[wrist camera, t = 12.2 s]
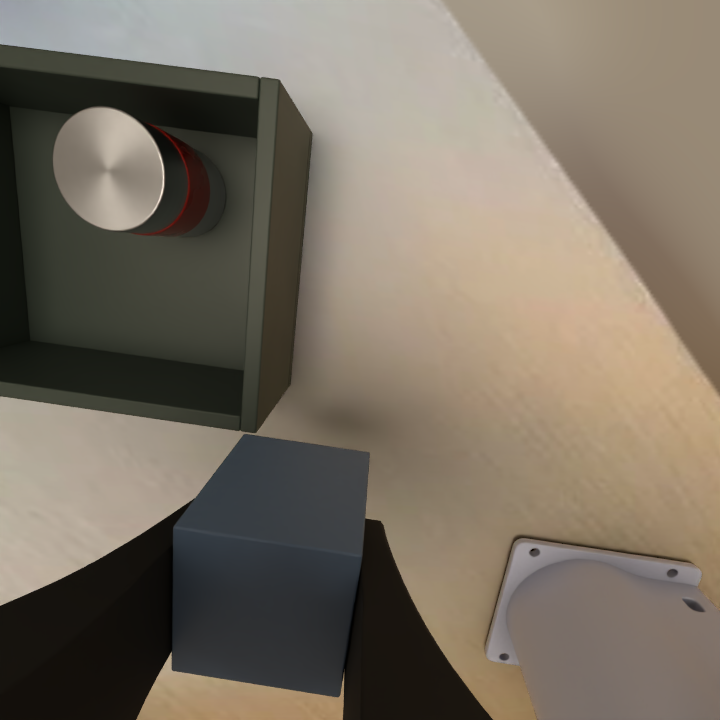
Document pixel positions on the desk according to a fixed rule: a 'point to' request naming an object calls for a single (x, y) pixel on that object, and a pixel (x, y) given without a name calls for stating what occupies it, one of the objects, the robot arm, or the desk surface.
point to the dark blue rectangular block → (271, 566)
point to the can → (135, 176)
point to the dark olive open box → (151, 249)
